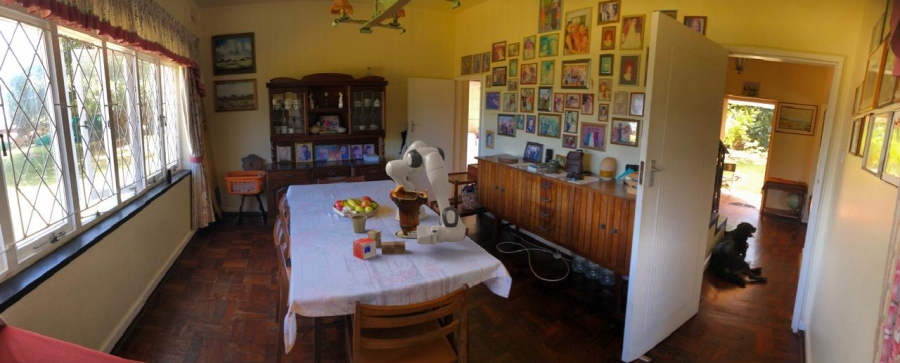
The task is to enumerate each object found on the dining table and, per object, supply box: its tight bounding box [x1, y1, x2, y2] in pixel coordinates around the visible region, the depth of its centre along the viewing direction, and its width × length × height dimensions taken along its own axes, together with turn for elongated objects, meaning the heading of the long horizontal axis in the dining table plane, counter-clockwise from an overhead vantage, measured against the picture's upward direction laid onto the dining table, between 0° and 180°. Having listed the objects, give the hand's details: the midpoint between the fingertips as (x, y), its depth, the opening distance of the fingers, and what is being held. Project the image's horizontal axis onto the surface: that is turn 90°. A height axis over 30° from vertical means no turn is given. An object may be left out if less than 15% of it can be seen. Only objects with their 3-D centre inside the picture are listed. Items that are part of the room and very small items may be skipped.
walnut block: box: [381, 240, 407, 255], centre depth 221 cm, size 5×5×12 cm
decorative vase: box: [389, 185, 429, 239], centre depth 247 cm, size 21×23×28 cm
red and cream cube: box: [352, 236, 377, 261], centre depth 216 cm, size 8×8×8 cm
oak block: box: [367, 229, 382, 248], centre depth 230 cm, size 5×5×8 cm
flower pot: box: [350, 214, 368, 234], centre depth 253 cm, size 9×9×9 cm
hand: (407, 234), depth 221 cm, fingers closed
